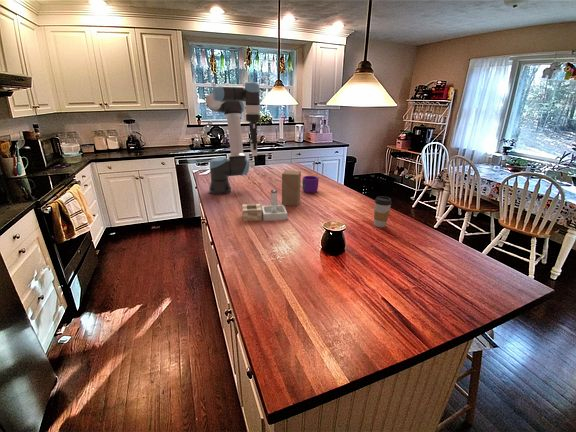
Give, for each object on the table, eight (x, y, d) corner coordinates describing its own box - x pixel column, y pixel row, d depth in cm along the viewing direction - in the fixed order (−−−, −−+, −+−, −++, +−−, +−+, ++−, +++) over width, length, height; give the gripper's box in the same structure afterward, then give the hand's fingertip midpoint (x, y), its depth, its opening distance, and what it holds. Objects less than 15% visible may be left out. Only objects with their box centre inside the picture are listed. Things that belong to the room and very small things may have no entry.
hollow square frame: (242, 214, 166) (242, 204, 164) (260, 213, 168) (259, 203, 166) (243, 221, 157) (242, 210, 155) (261, 220, 159) (261, 209, 156)
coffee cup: (376, 220, 161) (380, 194, 155) (390, 225, 155) (395, 198, 150) (368, 224, 155) (372, 198, 150) (382, 229, 150) (387, 202, 144)
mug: (320, 192, 206) (321, 179, 202) (305, 194, 203) (305, 180, 199) (311, 186, 221) (312, 173, 217) (297, 187, 218) (297, 174, 214)
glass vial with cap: (270, 213, 166) (270, 189, 160) (276, 212, 166) (276, 189, 161) (271, 215, 162) (271, 191, 157) (277, 215, 163) (277, 191, 158)
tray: (261, 212, 169) (261, 205, 168) (283, 211, 172) (283, 204, 170) (263, 221, 158) (263, 214, 156) (287, 219, 160) (287, 213, 158)
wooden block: (297, 206, 180) (298, 174, 172) (281, 205, 181) (281, 173, 174) (299, 201, 189) (301, 170, 181) (284, 199, 190) (285, 169, 183)
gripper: (244, 112, 167) (246, 149, 175) (246, 115, 144) (248, 157, 152) (257, 112, 168) (258, 149, 176) (261, 115, 145) (262, 157, 153)
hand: (253, 153), depth 164 cm, fingers open, 13 cm apart
